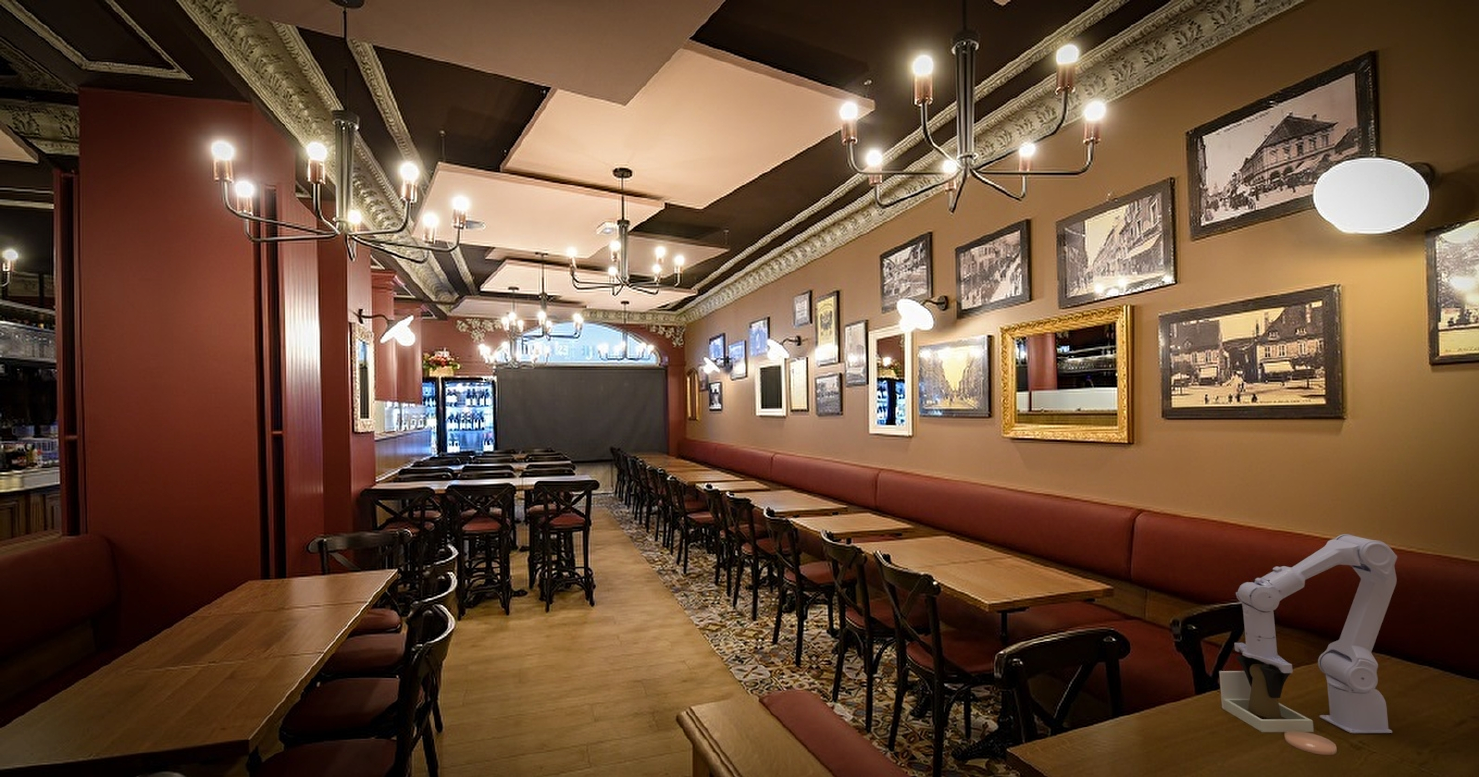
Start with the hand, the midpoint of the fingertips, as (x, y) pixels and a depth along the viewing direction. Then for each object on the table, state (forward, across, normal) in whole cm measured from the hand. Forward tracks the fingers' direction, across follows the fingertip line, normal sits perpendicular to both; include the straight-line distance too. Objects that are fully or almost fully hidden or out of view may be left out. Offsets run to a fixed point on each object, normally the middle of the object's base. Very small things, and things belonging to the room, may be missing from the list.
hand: (1265, 692), depth 146 cm
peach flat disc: (+6, +12, 0) cm, 13 cm away
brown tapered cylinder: (+5, 0, -1) cm, 5 cm away
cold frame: (+6, 0, 0) cm, 7 cm away
